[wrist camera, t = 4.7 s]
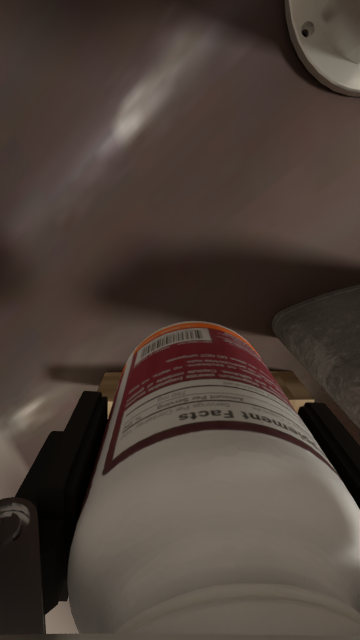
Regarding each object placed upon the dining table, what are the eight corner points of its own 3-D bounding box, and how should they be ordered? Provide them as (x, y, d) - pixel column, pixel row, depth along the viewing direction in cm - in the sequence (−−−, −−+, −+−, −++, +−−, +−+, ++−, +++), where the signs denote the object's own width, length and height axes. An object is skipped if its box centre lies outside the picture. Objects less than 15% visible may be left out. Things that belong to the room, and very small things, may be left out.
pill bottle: (213, 463, 16) (302, 980, 5) (96, 405, 14) (-103, 915, 4) (293, 361, 14) (659, 795, 3) (169, 287, 13) (162, 601, 2)
